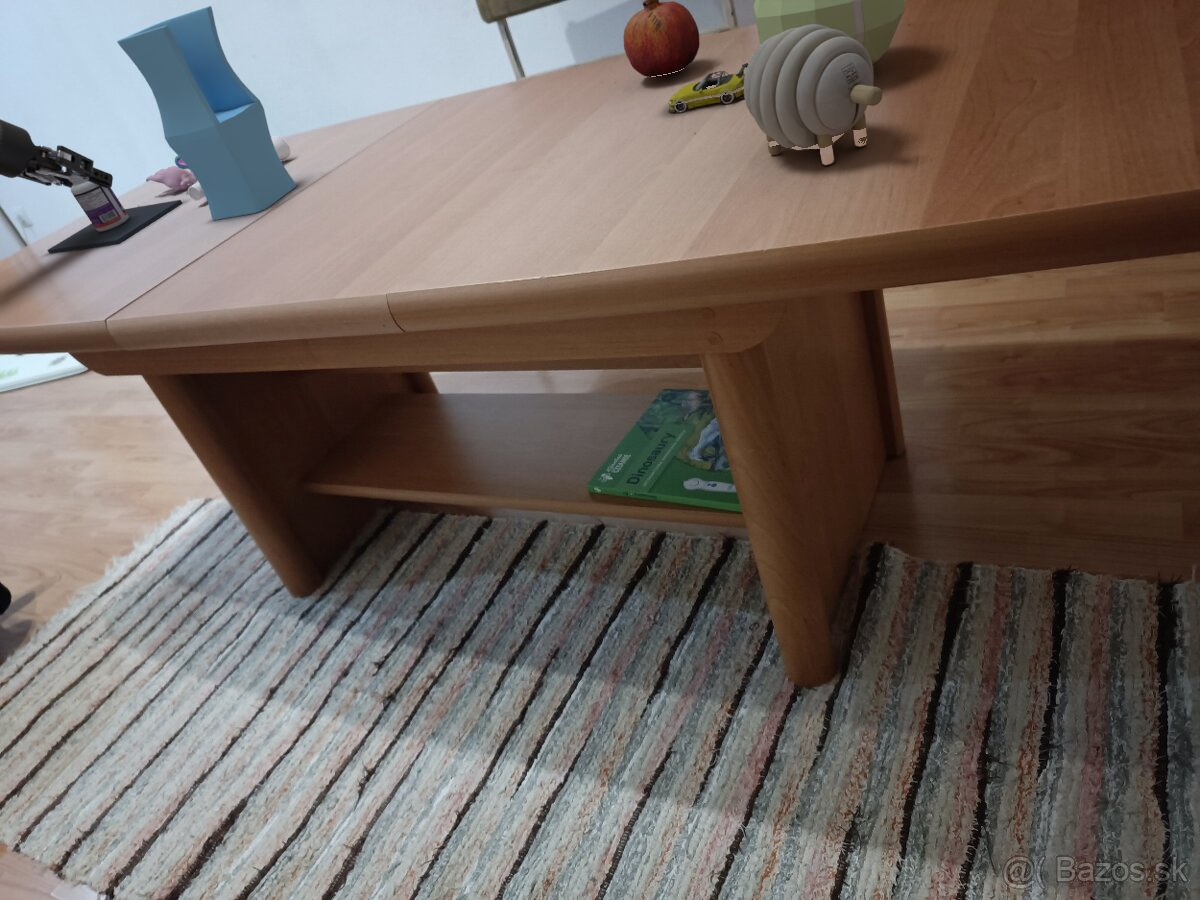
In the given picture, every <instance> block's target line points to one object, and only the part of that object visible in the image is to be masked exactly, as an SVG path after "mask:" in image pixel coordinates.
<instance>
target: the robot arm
mask: <svg viewBox="0 0 1200 900" xmlns="http://www.w3.org/2000/svg"><path fill="white" fill-rule="evenodd" d="M94 162H95V161H94V160H93V159H92V158H91V159H90V158H89V157H87V156H85V155H82V154H81V153H78V152H77V151H74V150H73V149H70V148H69V147H67V146H63V145H56V150H54V149H52V148H51V147H49V146H45V145H35V143H34V142H33V140H32V136H31V135H30V132H28V131H27V130H26V129H25V128H23V127H20V126H18V125H16V124H13V123H10V122H8V121H6V120H3V119H1V118H0V176H3V177H5V178H8V179H14V178H21V179H23V180H27V181H30V182H34V183H37V184H40V185H43V186H47V187H51V186H53V185H55V186H57V187H62V186H63V187H66V188H70V189H71V187H72V186H73V183H72V182H70V181H69V180H68V179H69V178H71V177H75V178H79V179H83V180H86V181H89V182H92V183H94V184H97V185H100V186H102V187H105V188H110V187H111V188H112V187H113V180H114V176H113V175H112V174H111V173H110V172H107V171H104V170H102V169H99V168H97V167H94ZM63 167H64V168H65V170H64V169H63ZM73 171H75V172H73ZM76 172H77V173H76Z"/></svg>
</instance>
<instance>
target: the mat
mask: <svg viewBox="0 0 1200 900" xmlns="http://www.w3.org/2000/svg"><path fill="white" fill-rule="evenodd" d="M182 204H183V201H182V200H181V199H177V200H171V201H165V202H160V203H153V204H148V205H141V206H136V207H130V208H124V209H125V211H126V212H127V214H128V216H129V218H128V220H127V221H126V222H124V223H123V224H121V225H119V226H117V227H115V228H113V229H110V230H107V231H103V232H99V231H97V230H96V228H95V227H94V226H93V224H92V223H90V224H88V225H87V226H85V227H83V228H81V229H80V230H78V231H76V232H75V233H73V234H71V235H70V236H68V237H67V238H65V239H63V240H62V241H60V242H58V243H57V244H54V245H52V247H50V248H49V249H46V250H47V252H48V253H49V254H54V253H62V252H70V251H77V250H84V249H89V248H96V247H97V248H98V247H105V246H111V245H118V244H121V243H122V242H124V241H125V240H127V239H128V238H130V237H132V236H133V235H135V234H137V233H138V232H140V231H142V230H143V229H144V228H146V227H147V226H149V225H151V224H152V223H153V222H155V221H157V220H159V219H160V218H161V217H163V216H164V215H166V214H167V213H169V212H171V211H173V210H174V209H175V208H177V207H179V206H181V205H182Z"/></svg>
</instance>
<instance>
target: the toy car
mask: <svg viewBox="0 0 1200 900" xmlns="http://www.w3.org/2000/svg"><path fill="white" fill-rule="evenodd" d="M748 64H749V62H746V63H744V64H741V67H740V70H739V72H737V73H732V74H729V73H728V72H727V71H725V70H720V71H715V72H711V73H709V74H707V75H706V76H705V77H704V78H703V79H702V80H701V81H696V82H692V83H689V84H686V85H684V86H683V87H681V88H680V89H679V90H677V91H676V92H674V94H673V95H671V97H670V98H669V100H668V102H671V104H674V103H675V104H677V103H681V102H684V101H688V100H690V99H694V98H699V97H704V96H710V95H711V96H712V95H717V94H722V93H725V94H726V93H727V92H731V91H734V90H736V89H738V88H741V87H743V86H744V80H741V79H740V78H741V77H743V76H745V73H744V72H745V69H747V66H748ZM726 74H727V75H726ZM713 75H715V76H713ZM712 85H716V87H714V88H710V89H707V88H706V87H708V86H712ZM741 99H745V97H744V89H743V90H741V91H739V92H736V93H733V94H732V95H730V94H728V95H723V96H720V97H712V98H707V99H702V100H696V101H692V102H688V103H681V104H677V105H675V104H674V105H671V104H669V103H668V102H667V104H668V105H669V108H668V110H667V112H668V113H671V114H673V113H675V112H677V113H684V112H685V111H686V110H687V109H688V110H690V109H694V108H698V107H703V106H709V105H712V104H713V105H714V104H718V103H722V102H723V104H726V105H728V104H731V103H732V102H733V101H734V100H741Z"/></svg>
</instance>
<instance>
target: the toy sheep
mask: <svg viewBox="0 0 1200 900" xmlns="http://www.w3.org/2000/svg"><path fill="white" fill-rule="evenodd" d="M751 55H752V56H751V57H750V58H749V59H750V60H749V61H748V66H747V68H745V69H746V70H745V73H744V74H745V76H743V77H741V78H740V79H741V80H744V101H745V102H744V103H745V105H746V109H748V112H749V113H750V115H751V117H752V118H753V119H754V121H755V123H756V124H757V127H759V129H760V130H761V131H762V132H763V133H764V134H765V137H766V142H767V141H768V142H771V141H776V142H777V143H778V144H779V145H776V146H772V147H770V146H768V145H767V148H768V153H769V154H770V155H771V156H777V155H779V154H781V152H782V150H783V148H785V149H787V148H792V147H795V146H798V147H801V148H808V147H811V146H813V145H816V144H818V146H819V148H825V147H828V146H830V145H832V143H833V141H832V137H834V136H838V135H841V134H843V133H845V132H846V131H847V132H848V131H849V130H852V129H853V130H861V129H864V128H866V127H867V120H866V113H865V112H866V111H867V108H868V106H871V107H874V106H877V105H879V104H880V103H881V101H882V99H883V90H882V89H881V88H880V87H878V86H874V82H875V80H874V79H875V76H874V73H875V72H874V65H873V64H872V61H871V59H870V56H869V54H868V52H867V50H866V49H865V48H864V46H863V45H862V44H861V43H859V42H858V41H857V40H855V39H853V38H851V37H849V36H848V35H847V34H845V33H844V32H842V31H839V30H836V29H831V28H829V27H826V26H823V25H818V24H811V25H806V26H802V27H797V28H792V29H788V30H786V31H784V32H782V33H780V34H778V35H775V36H773V37H771V38H769V39H767V40H766V41H765V42H763V43H762V44H761V45H759V46H758V47H757V49H755V51H754V52H753V54H751ZM847 132H846V133H847ZM846 133H845V134H846ZM860 139H861V140H860ZM860 139H859V140H860V141H862V142H863V141H864V143H865V141H866V139H867V141H866V143H867V142H868V143H869V135H868V134H867V136H866V137H863V138H860ZM858 142H859V141H858ZM862 142H861V143H862ZM859 143H860V142H859ZM864 143H863V144H864ZM868 143H867V144H868ZM806 150H807V151H808V150H809V149H803V150H797V151H798V152H799V151H806Z"/></svg>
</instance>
